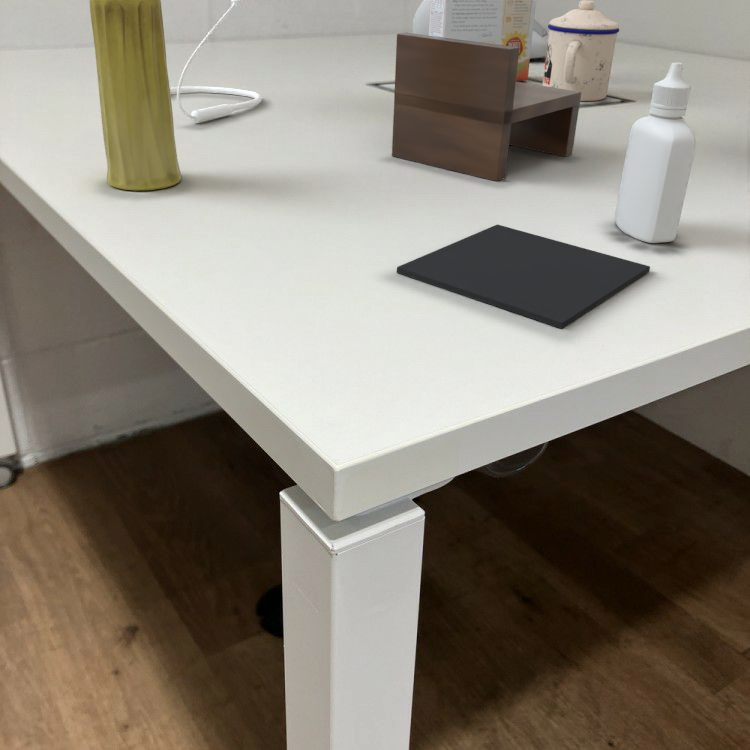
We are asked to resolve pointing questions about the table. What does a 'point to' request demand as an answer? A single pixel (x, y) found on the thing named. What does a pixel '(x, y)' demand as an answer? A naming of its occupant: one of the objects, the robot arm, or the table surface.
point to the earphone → (214, 88)
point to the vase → (134, 94)
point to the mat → (526, 274)
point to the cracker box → (487, 24)
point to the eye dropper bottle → (657, 164)
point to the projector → (538, 35)
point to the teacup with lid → (581, 52)
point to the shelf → (473, 107)
